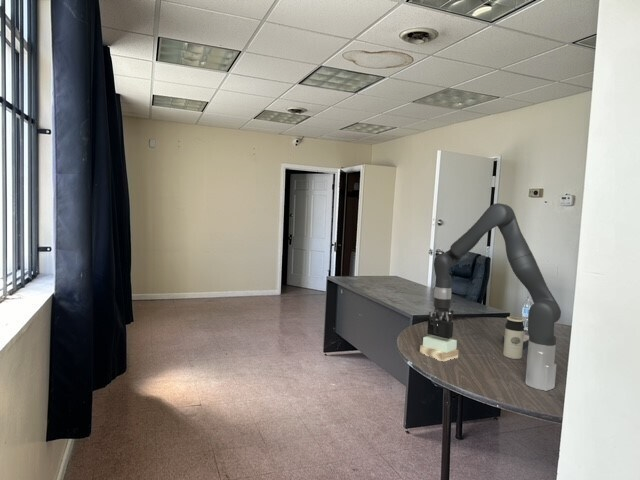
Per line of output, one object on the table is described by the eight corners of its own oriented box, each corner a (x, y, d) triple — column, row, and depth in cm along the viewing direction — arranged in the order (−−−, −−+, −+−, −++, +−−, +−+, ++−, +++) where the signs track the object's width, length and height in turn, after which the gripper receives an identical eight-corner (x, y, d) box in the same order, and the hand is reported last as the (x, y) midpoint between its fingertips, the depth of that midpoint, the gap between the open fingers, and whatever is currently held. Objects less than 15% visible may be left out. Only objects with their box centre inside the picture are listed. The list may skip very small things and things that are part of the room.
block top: (456, 349, 192) (456, 340, 192) (446, 352, 185) (447, 344, 185) (432, 342, 200) (433, 334, 200) (422, 346, 194) (423, 337, 194)
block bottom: (458, 358, 191) (458, 350, 190) (441, 362, 185) (442, 353, 184) (435, 350, 201) (436, 342, 201) (419, 353, 195) (420, 345, 195)
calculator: (535, 336, 219) (524, 340, 208) (534, 344, 219) (523, 349, 208) (514, 331, 227) (502, 334, 216) (513, 339, 227) (501, 343, 216)
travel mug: (503, 352, 201) (506, 315, 200) (522, 355, 197) (525, 318, 196) (502, 357, 194) (505, 319, 193) (521, 360, 190) (524, 321, 189)
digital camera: (453, 336, 191) (454, 321, 190) (448, 339, 187) (449, 323, 186) (432, 331, 198) (433, 317, 197) (427, 334, 194) (428, 319, 193)
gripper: (438, 299, 184) (435, 337, 185) (459, 297, 192) (457, 333, 193) (425, 296, 190) (423, 333, 191) (446, 294, 198) (444, 329, 199)
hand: (440, 333), depth 192 cm, fingers closed on digital camera, 5 cm apart
